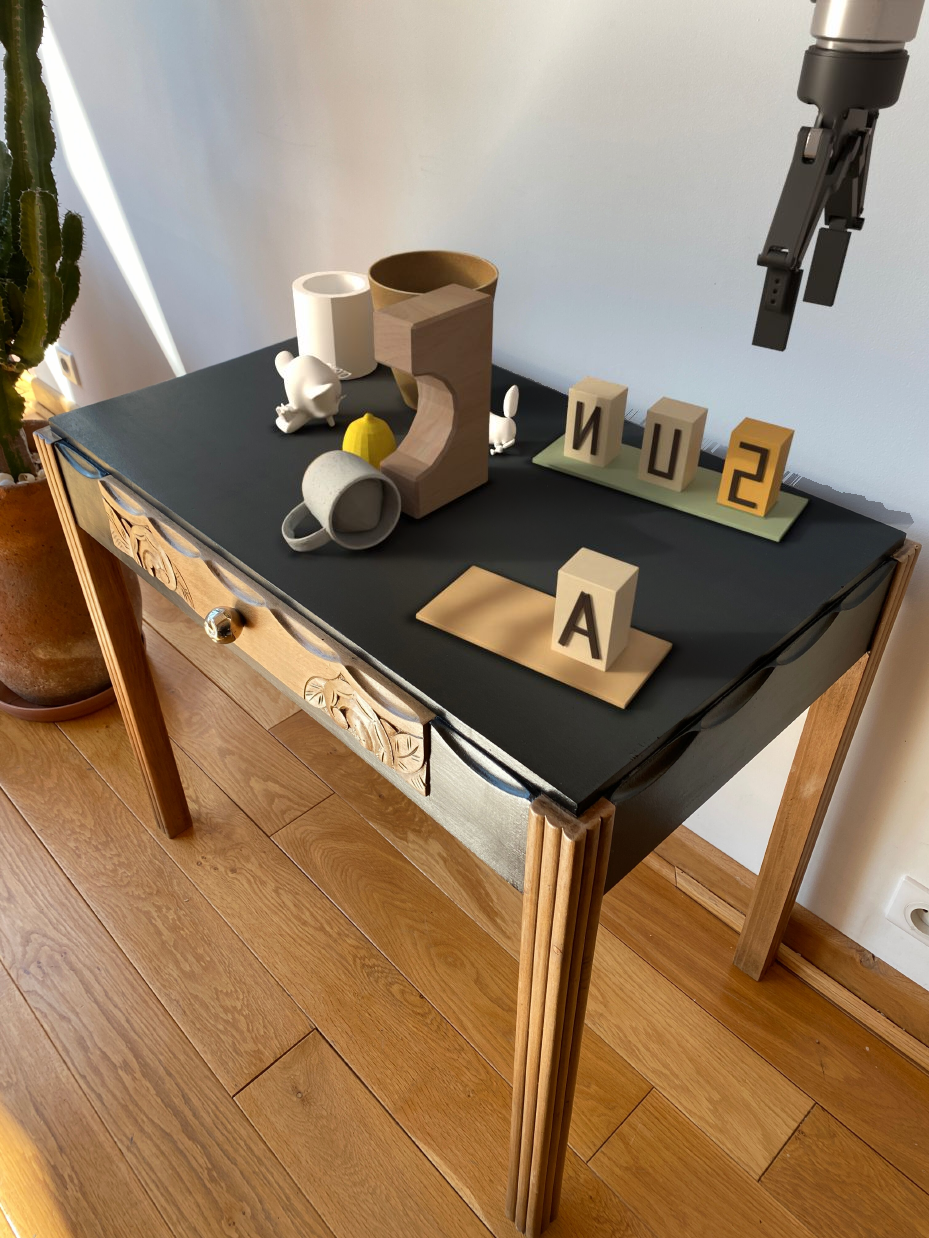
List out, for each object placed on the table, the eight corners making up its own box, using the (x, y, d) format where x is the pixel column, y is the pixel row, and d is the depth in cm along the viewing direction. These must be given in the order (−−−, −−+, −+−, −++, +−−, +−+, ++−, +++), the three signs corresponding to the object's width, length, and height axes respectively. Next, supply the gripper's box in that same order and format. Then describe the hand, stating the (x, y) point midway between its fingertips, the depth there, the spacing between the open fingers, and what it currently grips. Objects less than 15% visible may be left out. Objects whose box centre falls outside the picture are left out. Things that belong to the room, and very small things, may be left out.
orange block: (777, 500, 95) (795, 430, 91) (762, 518, 93) (780, 446, 88) (730, 486, 98) (746, 416, 93) (715, 503, 95) (730, 432, 90)
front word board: (671, 648, 77) (672, 643, 77) (624, 709, 72) (625, 704, 71) (473, 569, 86) (473, 565, 86) (416, 618, 80) (415, 614, 80)
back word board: (807, 503, 96) (808, 498, 96) (778, 542, 90) (780, 537, 90) (571, 432, 108) (571, 427, 108) (532, 462, 102) (532, 457, 102)
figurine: (312, 465, 105) (382, 417, 107) (282, 407, 99) (357, 357, 101) (266, 425, 113) (333, 381, 115) (235, 369, 107) (306, 323, 109)
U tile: (695, 477, 99) (708, 408, 94) (679, 493, 97) (692, 423, 92) (652, 464, 101) (663, 396, 97) (636, 479, 99) (646, 410, 94)
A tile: (627, 646, 77) (639, 567, 72) (603, 673, 74) (615, 593, 69) (574, 624, 79) (582, 546, 74) (549, 650, 76) (556, 571, 71)
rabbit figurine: (471, 456, 103) (466, 399, 107) (489, 472, 106) (484, 415, 110) (516, 436, 101) (510, 378, 104) (534, 452, 104) (528, 395, 107)
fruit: (371, 463, 102) (367, 395, 97) (408, 479, 99) (406, 410, 94) (334, 482, 98) (328, 413, 94) (372, 499, 96) (368, 429, 91)
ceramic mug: (365, 500, 96) (360, 432, 91) (404, 537, 90) (400, 467, 85) (270, 530, 91) (259, 461, 86) (304, 571, 86) (295, 499, 81)
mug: (326, 337, 130) (320, 260, 124) (395, 345, 128) (392, 267, 122) (288, 375, 120) (278, 292, 114) (362, 384, 118) (357, 301, 112)
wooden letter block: (620, 454, 103) (628, 387, 98) (602, 469, 100) (610, 400, 95) (580, 442, 105) (587, 375, 100) (562, 456, 103) (568, 388, 98)
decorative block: (416, 522, 92) (412, 326, 80) (378, 501, 95) (368, 309, 83) (491, 483, 99) (498, 296, 86) (453, 465, 102) (454, 281, 89)
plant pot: (358, 386, 118) (350, 257, 108) (466, 369, 122) (468, 244, 112) (397, 437, 107) (392, 299, 97) (513, 416, 111) (520, 282, 102)
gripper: (854, 28, 79) (797, 280, 92) (752, 56, 63) (700, 358, 76) (947, 34, 76) (874, 294, 89) (864, 65, 59) (790, 379, 72)
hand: (794, 324), depth 82 cm, fingers open, 13 cm apart
